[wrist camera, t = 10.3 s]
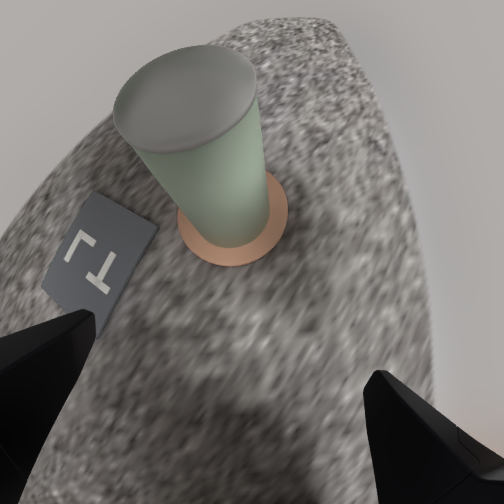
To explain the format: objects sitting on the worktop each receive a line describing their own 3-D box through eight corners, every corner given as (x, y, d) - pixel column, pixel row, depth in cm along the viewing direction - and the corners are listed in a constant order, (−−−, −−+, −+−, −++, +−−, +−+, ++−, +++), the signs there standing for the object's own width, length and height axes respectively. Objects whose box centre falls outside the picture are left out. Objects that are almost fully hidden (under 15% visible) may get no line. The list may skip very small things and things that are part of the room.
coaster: (253, 287, 20) (253, 286, 19) (160, 235, 22) (157, 233, 21) (306, 191, 21) (306, 187, 21) (215, 152, 23) (213, 148, 22)
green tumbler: (232, 265, 20) (169, 174, 8) (178, 216, 21) (91, 110, 10) (286, 206, 20) (287, 73, 9) (230, 164, 22) (189, 34, 10)
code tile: (97, 339, 20) (95, 339, 19) (42, 286, 22) (39, 286, 21) (159, 227, 22) (157, 225, 21) (95, 191, 23) (92, 189, 23)
